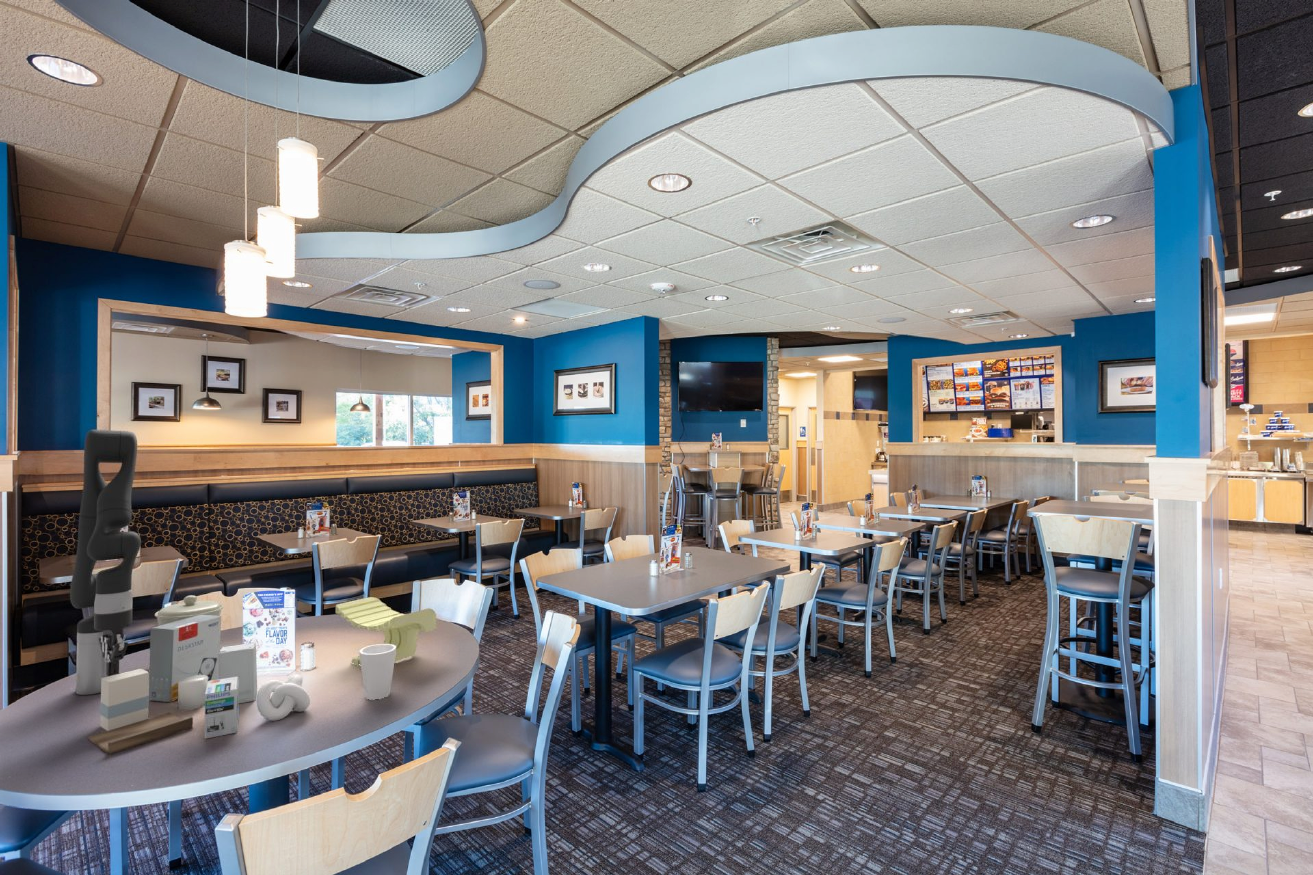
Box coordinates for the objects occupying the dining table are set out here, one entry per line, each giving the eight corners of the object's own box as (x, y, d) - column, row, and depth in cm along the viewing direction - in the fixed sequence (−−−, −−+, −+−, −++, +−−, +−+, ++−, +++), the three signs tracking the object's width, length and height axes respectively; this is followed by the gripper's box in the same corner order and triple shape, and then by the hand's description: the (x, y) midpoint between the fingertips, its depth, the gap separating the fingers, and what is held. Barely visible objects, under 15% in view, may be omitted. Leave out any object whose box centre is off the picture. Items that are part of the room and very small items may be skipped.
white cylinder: (173, 706, 166) (174, 680, 166) (201, 698, 171) (201, 673, 171) (183, 712, 163) (184, 685, 163) (211, 703, 168) (212, 677, 168)
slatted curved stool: (435, 660, 202) (436, 606, 203) (393, 675, 189) (393, 617, 189) (378, 645, 218) (378, 594, 218) (335, 658, 204) (335, 604, 204)
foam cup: (403, 692, 176) (403, 646, 176) (375, 704, 167) (376, 656, 168) (379, 686, 180) (379, 642, 180) (351, 698, 171) (352, 651, 172)
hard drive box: (169, 703, 168) (171, 629, 168) (147, 701, 170) (148, 628, 170) (220, 682, 183) (221, 614, 184) (199, 680, 185) (200, 613, 185)
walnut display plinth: (88, 739, 147) (88, 728, 147) (169, 714, 161) (169, 704, 161) (109, 754, 140) (109, 743, 140) (192, 727, 153) (192, 717, 153)
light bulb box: (237, 732, 151) (238, 688, 151) (203, 739, 147) (204, 694, 147) (238, 716, 160) (239, 675, 160) (206, 723, 156) (207, 680, 156)
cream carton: (100, 726, 154) (101, 678, 154) (140, 714, 161) (141, 668, 161) (107, 731, 151) (108, 682, 152) (148, 719, 158) (148, 672, 158)
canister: (148, 660, 202) (149, 596, 202) (214, 647, 216) (215, 586, 216) (161, 673, 190) (162, 605, 190) (230, 658, 204) (231, 594, 204)
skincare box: (257, 694, 174) (258, 641, 175) (254, 702, 169) (255, 647, 169) (221, 699, 171) (222, 645, 171) (217, 707, 165) (218, 651, 166)
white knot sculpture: (262, 708, 165) (262, 674, 165) (313, 701, 170) (313, 668, 170) (253, 725, 155) (254, 689, 155) (308, 717, 159) (308, 682, 159)
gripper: (141, 609, 161) (140, 675, 161) (122, 602, 168) (121, 666, 168) (104, 615, 155) (103, 685, 155) (86, 608, 162) (84, 674, 162)
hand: (112, 675), depth 161 cm, fingers closed
